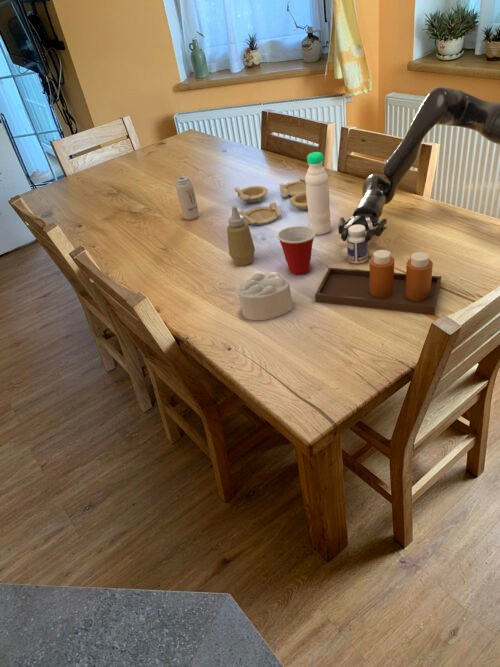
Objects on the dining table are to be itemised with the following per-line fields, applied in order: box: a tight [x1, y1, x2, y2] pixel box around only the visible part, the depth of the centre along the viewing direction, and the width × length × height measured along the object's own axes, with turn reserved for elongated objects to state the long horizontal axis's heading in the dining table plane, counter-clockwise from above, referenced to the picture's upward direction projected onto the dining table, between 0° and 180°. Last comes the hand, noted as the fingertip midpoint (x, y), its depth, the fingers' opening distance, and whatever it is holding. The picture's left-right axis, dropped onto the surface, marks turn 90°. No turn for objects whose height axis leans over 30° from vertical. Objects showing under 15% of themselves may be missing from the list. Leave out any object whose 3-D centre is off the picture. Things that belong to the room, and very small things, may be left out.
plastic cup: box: [276, 225, 317, 276], centre depth 141 cm, size 11×11×12 cm
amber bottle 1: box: [369, 249, 395, 297], centre depth 126 cm, size 6×6×11 cm
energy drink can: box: [175, 175, 200, 221], centre depth 180 cm, size 6×6×15 cm
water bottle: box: [304, 151, 332, 236], centre depth 154 cm, size 7×7×25 cm
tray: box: [314, 267, 442, 316], centre depth 129 cm, size 30×14×2 cm, turn 67°
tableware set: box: [234, 177, 308, 226], centre depth 182 cm, size 35×29×4 cm
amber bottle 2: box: [405, 251, 434, 301], centre depth 122 cm, size 6×6×11 cm
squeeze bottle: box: [226, 205, 256, 266], centre depth 148 cm, size 8×8×18 cm
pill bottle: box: [346, 225, 369, 264], centre depth 141 cm, size 6×6×10 cm
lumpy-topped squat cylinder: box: [238, 271, 293, 321], centre depth 129 cm, size 10×13×9 cm
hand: (355, 238), depth 138 cm, fingers closed on pill bottle, 5 cm apart
